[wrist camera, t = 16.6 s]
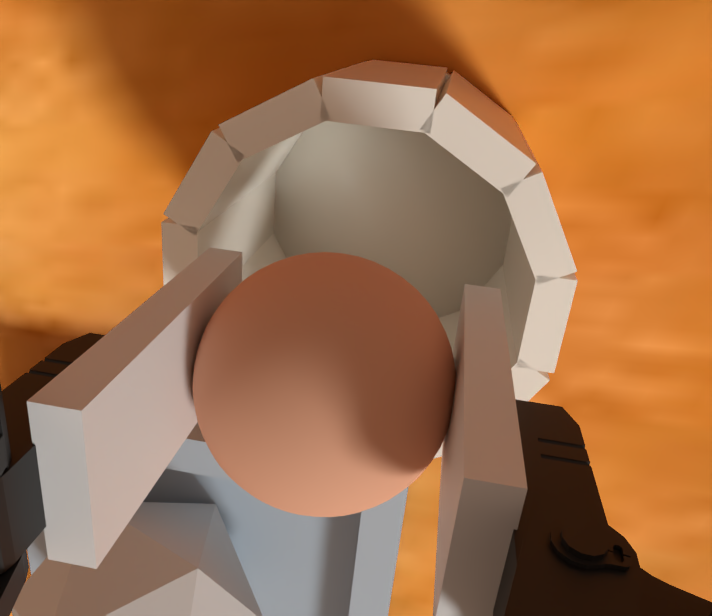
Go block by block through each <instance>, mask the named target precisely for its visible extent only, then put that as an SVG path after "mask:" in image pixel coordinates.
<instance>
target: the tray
mask: <svg viewBox="0 0 712 616" xmlns="http://www.w3.org/2000/svg"><path fill="white" fill-rule="evenodd" d="M407 492H408V487H407V488H406V489H404V490H403V491H402V492H400V493H399V494H397V495H396V496H394V497H393V498H391V499H390V500H388V501H386V502H384V503H382V504H380V505H378V506H376V507H373V508H370V509H367V510H364V511H361V512H358V513H355V514H350V515H345V516H337V517H312V516H304V515H298V514H294V513H289V512H286V511H283V510H280V509H277V508H274V507H272V506H270V505H268V504H266V503H264V502H262V501H260V500H258V499H257V498H255V497H253V496H252V495H250V494H249V493H248V492H246V491H245V490H244V489H242V488H241V487H240V486H239V485H237V484H236V483H235V482H234V481H233V480H232V479H231V478H230V477H229V476H228V475H227V474H226V473H225V471H224V470H223V469H222V468H221V467H220V466H219V464H218V463H217V461H216V460H215V458H214V457H213V455H212V453H211V451H210V449H209V448H208V446H207V444H206V442H205V440H204V438H203V435H202V433H201V430H200V427H199V425H198V422H197V424H196V425H195V427H194V428H193V429H192V431H191V432H190V434H189V435H188V437H187V438H186V440H185V441H184V443H183V444H182V445H181V447H180V448H179V450H178V451H177V453H176V454H175V456H174V457H173V459H172V460H171V461H170V463H169V464H168V466H167V467H166V469H165V470H164V472H163V473H162V475H161V476H160V477H159V479H158V480H157V482H156V483H155V485H154V486H153V488H152V489H151V491H150V492H149V493H148V495H147V496H146V498H145V499H144V501H143V502H159V503H202V504H216V506H217V508H218V510H219V513H220V515H221V518H222V520H223V522H224V525H225V527H226V530H227V532H228V534H229V537H230V539H231V541H232V544H233V546H234V549H235V551H236V553H237V556H238V558H239V561H240V563H241V565H242V568H243V570H244V573H245V575H246V577H247V580H248V582H249V584H250V587H251V589H252V592H253V594H254V596H255V599H256V601H257V604H258V606H259V608H260V611H261V613H262V616H388V611H389V605H390V599H391V592H392V586H393V580H394V574H395V567H396V561H397V555H398V548H399V542H400V536H401V529H402V523H403V517H404V511H405V504H406V498H407ZM27 551H28V557H29V564H30V570H31V575H32V574H33V573H34V572H35V571H36V569H37V568H38V567H39V566H40V565H41V563H42V562H43V561H44V560H45V559H46V557H47V556H48V555H47V548H46V541H45V533H44V530H43V531H42V532H41V533H40V534H39V536H38V537H37V538H36V539H35V540H34V541H33V543H32V544H31V545H30V546H29V547H28V548H27Z"/></svg>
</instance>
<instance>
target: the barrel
mask: <svg viewBox="0 0 712 616" xmlns="http://www.w3.org/2000/svg"><path fill="white" fill-rule="evenodd" d="M219 127H220V128H218V129H215V130H213V131H211V133H210V135H209V136H208V138H207V140H206V141H205V143H204V145H203V147H202V148H201V150H200V152H199V153H198V155H197V157H196V159H195V160H194V162H193V164H192V166H191V167H190V169H189V171H188V172H187V174H186V176H185V178H184V179H183V181H182V183H181V184H180V186H179V188H178V190H177V191H176V193H175V195H174V197H173V198H172V200H171V202H170V203H169V205H168V207H167V209H166V210H165V212H164V215H166V216H167V217H169V218H167V219H165V220H164V221H162V251H163V280H164V285H166V284H167V283H168V282H169V281H170V280H172V279H173V278H174V277H175V276H176V275H177V274H179V273H180V272H181V271H182V270H183V269H185V268H186V267H187V266H188V265H189V264H191V263H192V262H193V261H194V260H195V259H197V258H198V257H199V256H200V255H201V254H203V253H204V252H205V251H206V250H207V249H208V248H210V247H211V248H218V249H225V250H232V251H239V252H243V261H242V281H244V280H245V279H246V278H248V277H249V276H251V275H252V274H253V273H255V272H256V271H258V270H260V269H262V268H264V267H266V266H268V265H270V264H272V263H274V262H277V261H279V260H282V259H285V258H288V257H291V256H295V255H301V254H306V253H317V252H332V253H344V254H349V255H354V256H359V257H362V258H365V259H368V260H371V261H374V262H376V263H378V264H380V265H382V266H384V267H387V268H389V269H390V270H392V271H393V272H395V273H396V274H398V275H399V276H401V277H403V278H404V279H405V280H406V281H407V282H409V283H410V284H411V285H412V286H413V287H415V288H416V289H417V290H418V291H419V292H420V293H421V295H422V296H423V297H424V298H425V299H426V300H427V301H428V303H429V304H430V305H431V307H432V308H433V310H434V311H435V312H436V314H437V316H438V318H439V320H440V322H441V324H442V326H443V327H444V330H445V332H446V334H447V337H448V339H449V342H450V345H451V348H452V353H453V347H454V342H455V336H456V330H457V324H458V319H459V313H460V307H461V302H462V296H463V290H464V285H465V284H469V285H476V286H483V287H490V288H497V289H500V290H501V297H502V305H503V312H504V319H505V327H506V334H507V341H508V349H509V356H510V363H511V371H512V378H513V385H514V393H515V399H516V400H522V401H529V400H530V399H531V398H532V397H533V396H534V395H535V394H536V393H537V392H538V391H539V390H540V389H541V388H542V387H543V386H544V385H545V384H546V383H548V382H549V381H550V380H549V375H548V372H549V373H554V371H555V367H556V363H557V359H558V355H559V352H560V348H561V344H562V340H563V336H564V332H565V328H566V324H567V320H568V316H569V312H570V308H571V304H572V300H573V296H574V293H575V289H576V285H577V278H576V276H575V274H574V272H577V270H576V267H575V264H574V261H573V258H572V255H571V252H570V250H569V247H568V244H567V241H566V238H565V235H564V232H563V230H562V227H561V224H560V221H559V218H558V215H557V212H556V210H555V207H554V204H553V201H552V198H551V195H550V192H549V190H548V187H547V184H546V181H545V178H544V175H543V172H542V170H541V168H540V167H539V165H538V163H537V161H536V159H535V157H534V155H533V153H532V151H531V149H530V147H529V145H528V144H527V142H526V140H525V138H524V136H523V134H522V132H521V130H520V128H519V126H518V124H517V122H515V121H514V119H513V117H512V116H511V115H510V114H509V113H507V112H506V111H505V110H504V109H502V108H501V107H500V106H499V105H497V104H496V103H495V102H493V101H492V100H491V99H490V98H488V97H487V96H486V95H485V94H483V93H482V92H481V91H480V90H478V89H477V88H476V87H475V86H473V85H472V84H471V83H469V82H468V81H467V80H466V79H464V78H463V77H462V76H461V75H459V74H458V73H457V72H456V71H453V72H452V73H451V74H449V73H447V67H438V66H429V65H419V64H410V63H401V62H392V61H382V60H371V61H368V62H367V61H364V62H361V63H358V64H355V65H352V66H349V67H346V68H343V69H340V70H336V71H333V72H330V73H327V74H324V75H321V76H318V77H315V78H312V79H310V80H308V81H306V82H304V83H302V84H300V85H298V86H296V87H294V88H292V89H290V90H288V91H286V92H284V93H282V94H280V95H278V96H276V97H274V98H272V99H269V100H267V101H265V102H263V103H261V104H259V105H257V106H255V107H253V108H251V109H249V110H247V111H245V112H243V113H241V114H239V115H237V116H235V117H233V118H231V119H229V120H227V121H225V122H223V123H221V124H219ZM442 446H443V443H442V445H441V447H440V449H439V450H438V452H437V454H436V455H435V457H434V458H437V457H441V456H442ZM434 458H433V459H434Z"/></svg>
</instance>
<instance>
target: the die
mask: <svg viewBox="0 0 712 616" xmlns="http://www.w3.org/2000/svg"><path fill="white" fill-rule="evenodd" d="M12 614H13V616H262V613H261V611H260V608H259V606H258V604H257V601H256V599H255V596H254V594H253V592H252V589H251V587H250V584H249V582H248V580H247V577H246V575H245V573H244V570H243V568H242V565H241V563H240V561H239V558H238V556H237V553H236V551H235V549H234V546H233V544H232V541H231V539H230V537H229V534H228V532H227V530H226V527H225V525H224V522H223V520H222V518H221V515H220V513H219V510H218V508H217V506H216V504H202V503H159V502H142V504H141V505H140V507H139V508H138V510H137V511H136V512H135V514H134V515H133V517H132V518H131V520H130V521H129V523H128V524H127V526H126V527H125V528H124V530H123V531H122V533H121V534H120V536H119V537H118V539H117V540H116V542H115V543H114V544H113V546H112V547H111V549H110V550H109V552H108V553H107V555H106V556H105V558H104V559H103V560H102V562H101V563H100V565H99V566H98V568H97V569H94V568H89V567H84V566H79V565H74V564H69V563H64V562H59V561H54V560H49V559H48V556H47V557H46V559H45V560H44V561H43V562H42V563H41V565H40V566H39V567H38V568H37V569H36V571H35V572H34V573H33V574H32V575H31V577H30V578H29V579H28V580H27V581H26V583H25V584H24V585H23V588H22V590H21V592H20V594H19V596H18V598H17V600H16V602H15V605H14V607H13V609H12Z"/></svg>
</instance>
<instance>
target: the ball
mask: <svg viewBox="0 0 712 616" xmlns="http://www.w3.org/2000/svg"><path fill="white" fill-rule="evenodd" d="M455 379H456V370H455V363H454V358H453V353H452V348H451V345H450V342H449V339H448V337H447V334H446V332H445V330H444V327H443V326H442V324H441V322H440V320H439V318H438V316H437V314H436V312H435V311H434V310H433V308H432V307H431V305H430V304H429V303H428V301H427V300H426V299H425V298H424V297H423V296H422V295H421V293H420V292H419V291H418V290H417V289H416V288H415V287H413V286H412V285H411V284H410V283H409V282H407V281H406V280H405V279H404V278H403V277H401V276H399V275H398V274H396V273H395V272H393V271H392V270H390V269H389V268H387V267H384V266H382V265H380V264H378V263H376V262H374V261H371V260H368V259H365V258H362V257H359V256H354V255H349V254H344V253H332V252H317V253H306V254H301V255H295V256H291V257H288V258H285V259H282V260H279V261H277V262H274V263H272V264H270V265H268V266H266V267H264V268H262V269H260V270H258V271H256V272H255V273H253V274H252V275H251V276H249V277H248V278H246V279H245V280H244V281H242V282H241V283H240V284H239V285H238V286H237V287H236V288H235V289H234V290H232V291H231V292H230V293H229V294H228V295H227V297H226V298H225V299H224V300H223V302H222V303H221V304H220V305H219V307H218V308H217V309H216V311H215V312H214V314H213V316H212V317H211V319H210V321H209V323H208V324H207V326H206V328H205V331H204V333H203V336H202V339H201V341H200V344H199V347H198V350H197V354H196V359H195V363H194V373H193V399H194V406H195V412H196V416H197V421H198V425H199V427H200V430H201V433H202V435H203V438H204V440H205V442H206V444H207V446H208V448H209V449H210V451H211V453H212V455H213V457H214V458H215V460H216V461H217V463H218V464H219V466H220V467H221V468H222V469H223V470H224V471H225V473H226V474H227V475H228V476H229V477H230V478H231V479H232V480H233V481H234V482H235V483H236V484H237V485H239V486H240V487H241V488H242V489H244V490H245V491H246V492H248V493H249V494H250V495H252V496H253V497H255V498H257V499H258V500H260V501H262V502H264V503H266V504H268V505H270V506H272V507H274V508H277V509H280V510H283V511H286V512H289V513H294V514H298V515H304V516H312V517H337V516H345V515H350V514H355V513H358V512H361V511H364V510H367V509H370V508H373V507H376V506H378V505H380V504H382V503H384V502H386V501H388V500H390V499H391V498H393V497H394V496H396V495H397V494H399V493H400V492H402V491H403V490H404V489H406V488H407V487H408V486H409V485H410V484H411V483H413V482H414V481H415V480H416V479H417V478H418V477H419V476H420V475H421V474H422V472H423V471H424V470H425V469H426V468H427V467H428V465H429V464H430V463H431V461H432V460H433V458H434V457H435V455H436V454H437V452H438V450H439V449H440V447H441V445H442V443H443V440H444V438H445V436H446V433H447V431H448V427H449V423H450V418H451V412H452V405H453V399H454V390H455Z"/></svg>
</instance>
